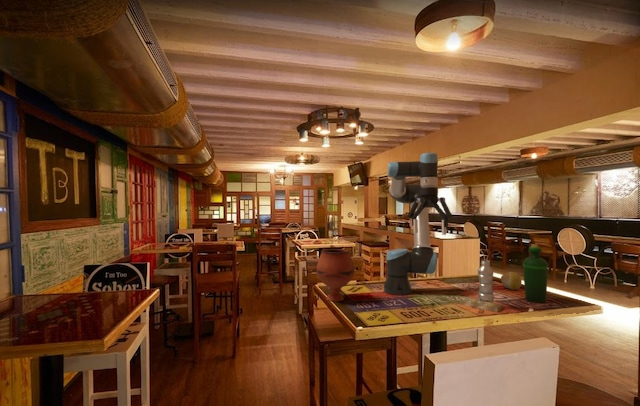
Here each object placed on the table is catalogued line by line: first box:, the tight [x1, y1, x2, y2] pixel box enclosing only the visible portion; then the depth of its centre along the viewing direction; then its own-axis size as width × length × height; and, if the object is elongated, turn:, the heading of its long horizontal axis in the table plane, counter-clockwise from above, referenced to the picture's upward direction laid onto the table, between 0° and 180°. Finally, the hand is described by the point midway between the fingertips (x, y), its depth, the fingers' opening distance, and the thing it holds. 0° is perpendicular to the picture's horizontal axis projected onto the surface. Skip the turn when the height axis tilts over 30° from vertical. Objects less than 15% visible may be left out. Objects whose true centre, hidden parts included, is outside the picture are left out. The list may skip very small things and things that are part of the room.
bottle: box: [522, 243, 549, 304], centre depth 157 cm, size 11×11×28 cm
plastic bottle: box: [477, 259, 495, 303], centre depth 147 cm, size 6×7×20 cm
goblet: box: [316, 248, 355, 302], centre depth 160 cm, size 19×19×25 cm
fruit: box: [500, 271, 523, 291], centre depth 179 cm, size 10×11×10 cm
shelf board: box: [459, 296, 504, 313], centre depth 148 cm, size 16×9×4 cm, turn 44°
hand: (429, 233), depth 143 cm, fingers open, 13 cm apart
